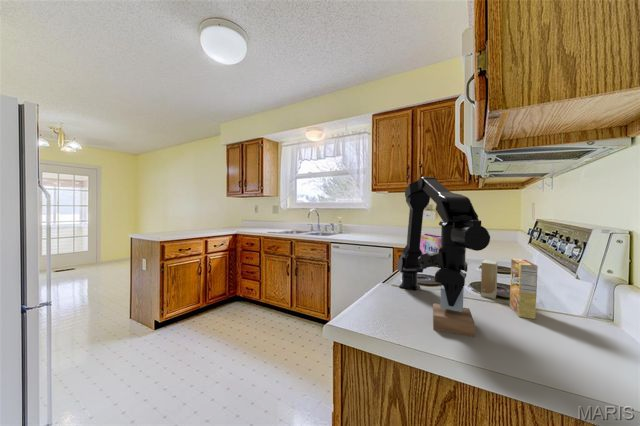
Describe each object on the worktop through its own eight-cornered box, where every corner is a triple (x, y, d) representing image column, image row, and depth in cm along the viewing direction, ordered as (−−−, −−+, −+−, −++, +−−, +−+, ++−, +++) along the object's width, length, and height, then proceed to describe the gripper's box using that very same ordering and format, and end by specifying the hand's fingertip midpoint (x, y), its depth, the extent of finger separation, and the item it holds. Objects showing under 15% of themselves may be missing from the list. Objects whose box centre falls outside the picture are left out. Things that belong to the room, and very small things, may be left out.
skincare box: (482, 291, 93) (483, 259, 93) (496, 294, 90) (497, 260, 90) (480, 296, 88) (481, 262, 88) (495, 299, 85) (496, 263, 85)
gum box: (415, 253, 171) (415, 233, 171) (425, 253, 173) (425, 233, 173) (438, 260, 148) (438, 237, 148) (450, 260, 150) (450, 237, 149)
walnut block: (432, 316, 72) (433, 303, 72) (468, 322, 69) (469, 308, 69) (433, 330, 64) (433, 315, 64) (474, 338, 60) (474, 322, 60)
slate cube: (442, 301, 70) (442, 283, 70) (463, 305, 67) (463, 287, 67) (440, 307, 66) (440, 288, 65) (462, 312, 63) (462, 292, 63)
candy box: (508, 306, 80) (510, 258, 79) (525, 308, 78) (526, 259, 78) (518, 317, 72) (519, 264, 71) (537, 319, 70) (538, 265, 70)
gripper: (426, 238, 78) (425, 287, 78) (413, 245, 62) (412, 307, 63) (468, 241, 72) (466, 294, 72) (464, 250, 56) (463, 318, 57)
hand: (451, 302), depth 66 cm, fingers closed on slate cube, 5 cm apart
